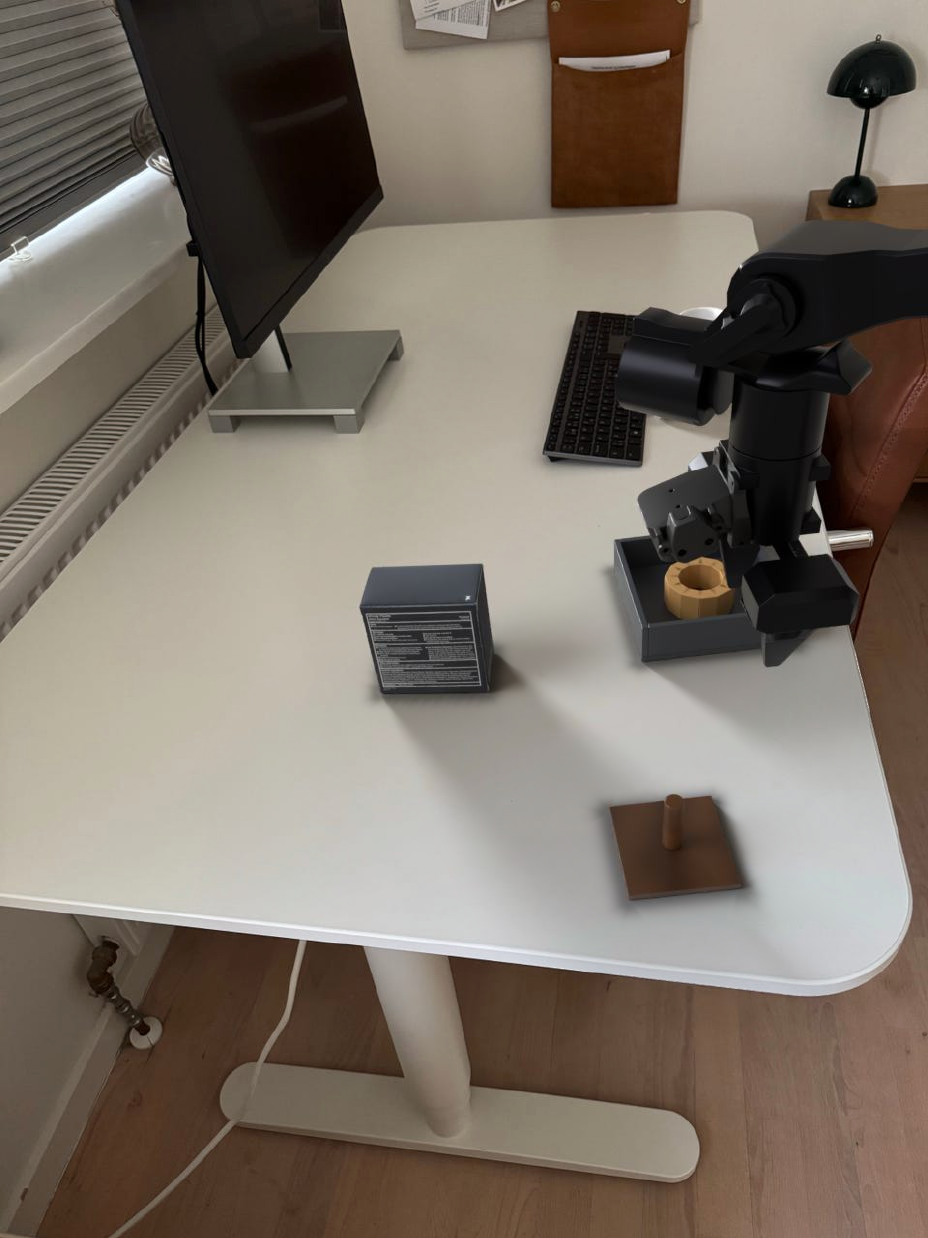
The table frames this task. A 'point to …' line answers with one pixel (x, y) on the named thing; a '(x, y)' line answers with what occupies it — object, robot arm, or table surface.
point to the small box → (429, 628)
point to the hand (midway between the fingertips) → (752, 624)
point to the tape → (695, 602)
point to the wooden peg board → (672, 847)
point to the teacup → (702, 313)
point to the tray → (658, 626)
